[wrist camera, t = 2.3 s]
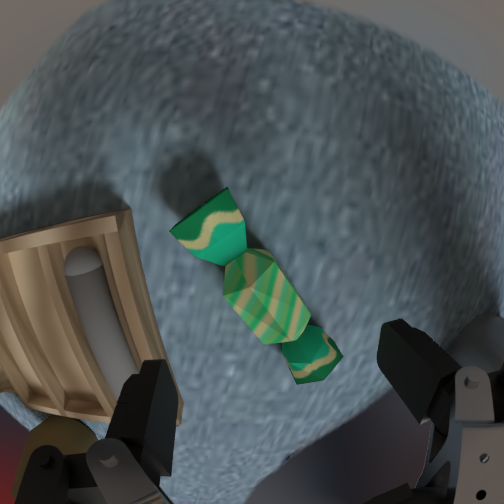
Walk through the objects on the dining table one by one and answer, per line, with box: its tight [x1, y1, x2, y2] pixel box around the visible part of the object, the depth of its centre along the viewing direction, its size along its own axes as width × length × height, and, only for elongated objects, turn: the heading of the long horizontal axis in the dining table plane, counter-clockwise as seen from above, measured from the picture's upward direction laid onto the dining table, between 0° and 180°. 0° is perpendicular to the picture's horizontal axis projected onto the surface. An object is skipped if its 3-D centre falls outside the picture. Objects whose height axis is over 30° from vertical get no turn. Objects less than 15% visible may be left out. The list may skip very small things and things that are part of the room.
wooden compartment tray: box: [0, 209, 184, 426], centre depth 15 cm, size 16×15×2 cm
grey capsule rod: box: [64, 246, 139, 401], centre depth 15 cm, size 2×12×2 cm, turn 6°
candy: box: [169, 187, 343, 384], centre depth 15 cm, size 12×3×4 cm, turn 34°
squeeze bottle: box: [11, 414, 98, 501], centre depth 11 cm, size 8×8×18 cm
